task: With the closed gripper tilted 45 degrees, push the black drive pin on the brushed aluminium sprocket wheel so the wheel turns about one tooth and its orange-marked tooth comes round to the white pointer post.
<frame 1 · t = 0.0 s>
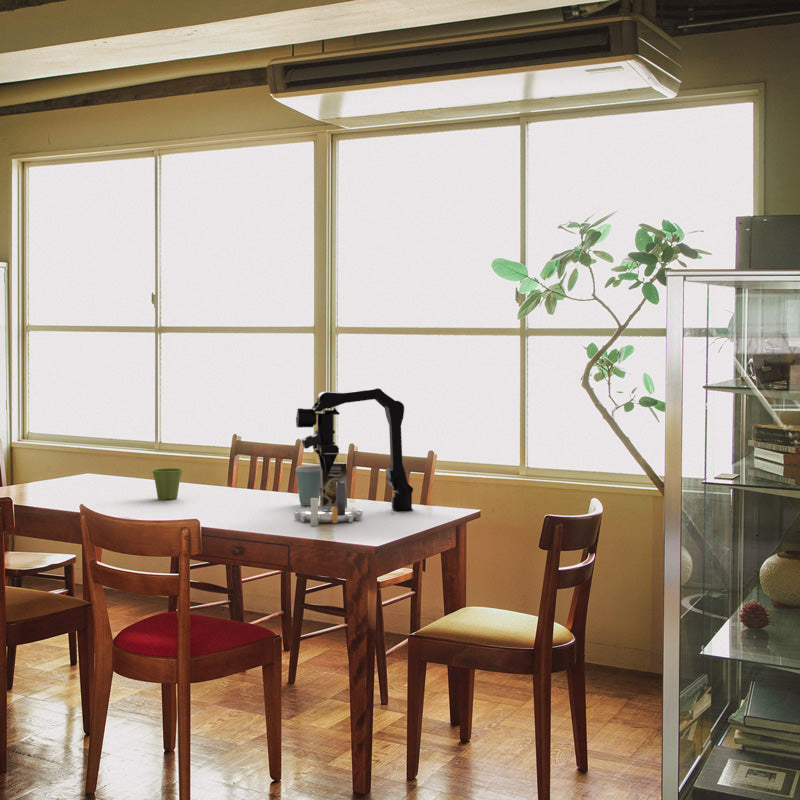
hand: (325, 471, 345), 15 cm above the table, tool pointing down, fingers open, 9 cm apart
disposable coffee cup: (309, 505, 363), on the table
coffee box: (333, 508, 353), on the table, touching gripper
pointer post: (314, 525, 320), on the table
sprocket: (328, 498, 333), point 7 cm above the table, hinge at 0.0°
plant pot: (167, 499, 375), on the table
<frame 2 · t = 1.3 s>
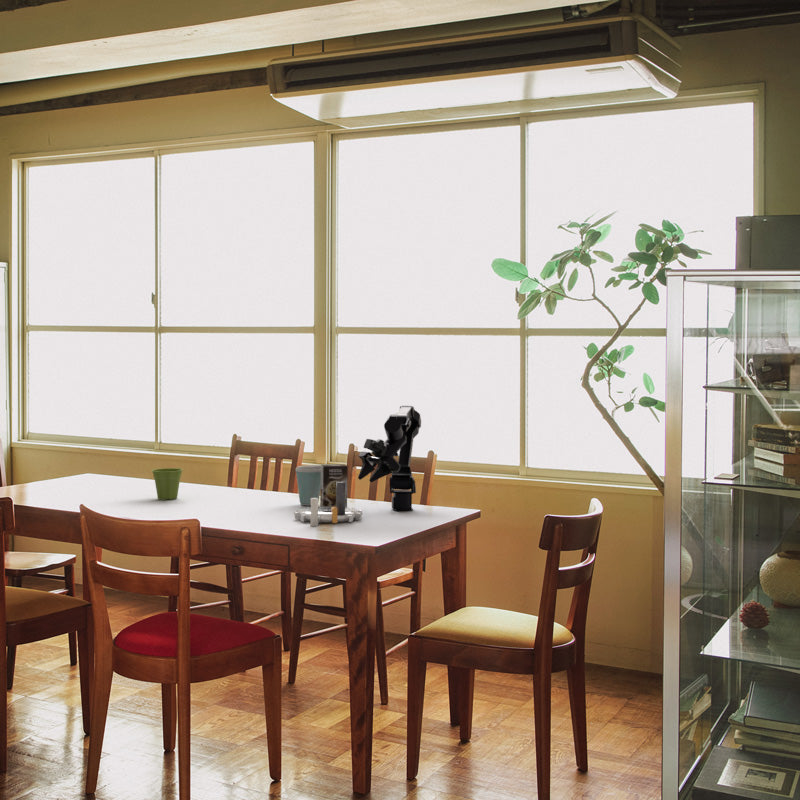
hand: (364, 480, 332), 13 cm above the table, tool tilted 45°, fingers open, 7 cm apart
coffee box: (333, 509, 353), on the table
everything else where it was.
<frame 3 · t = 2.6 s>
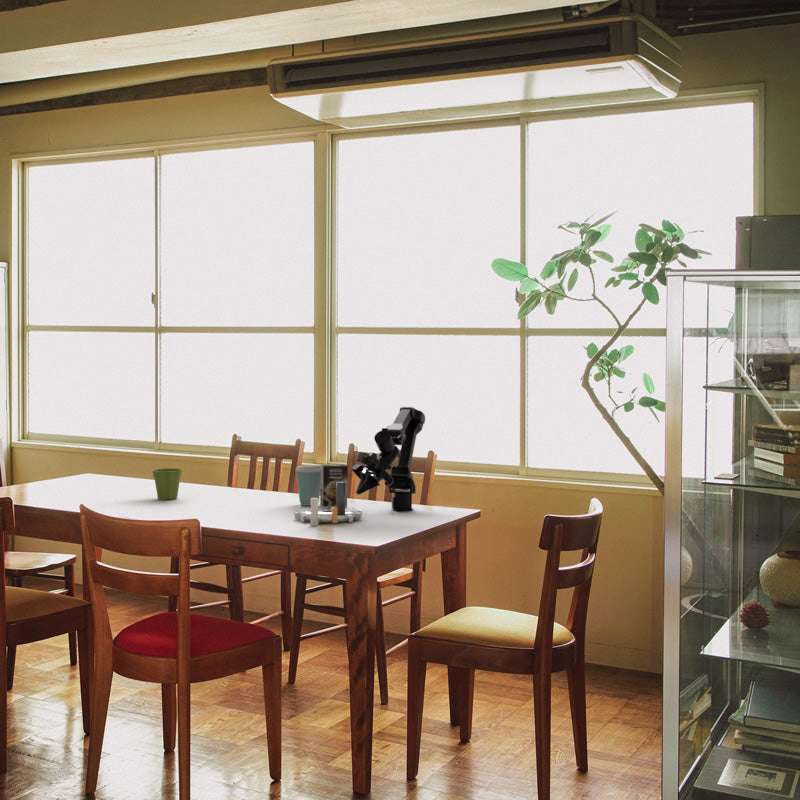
hand: (357, 493, 330), 9 cm above the table, tool tilted 45°, fingers closed
nothing on the table moved.
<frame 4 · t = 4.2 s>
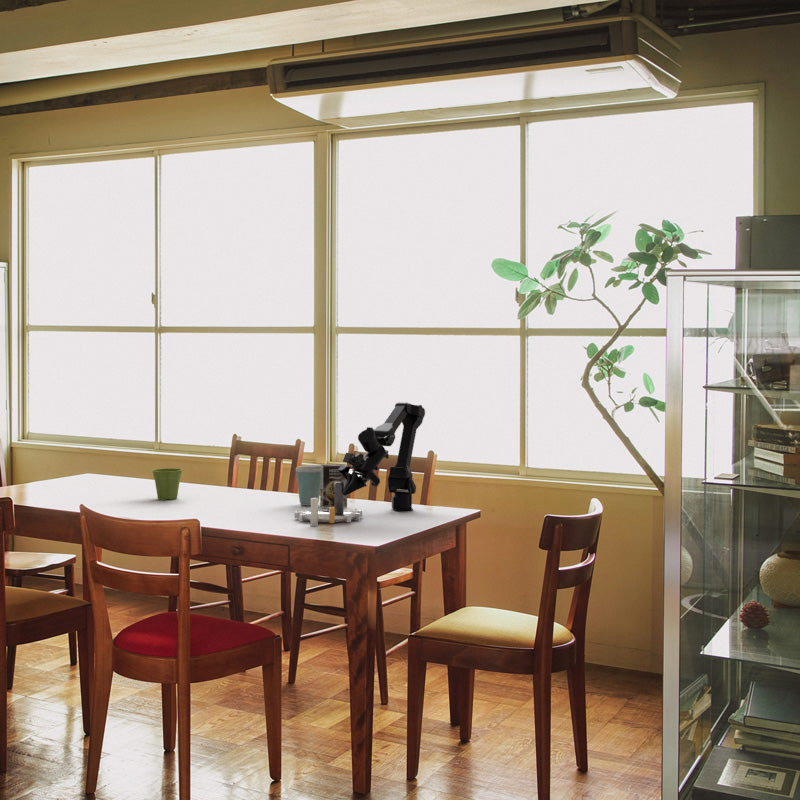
hand: (343, 494, 327), 9 cm above the table, tool tilted 45°, fingers closed, pressing on sprocket
sprocket: (328, 498, 333), point 7 cm above the table, hinge at -4.6°, touching gripper
everything else where it was.
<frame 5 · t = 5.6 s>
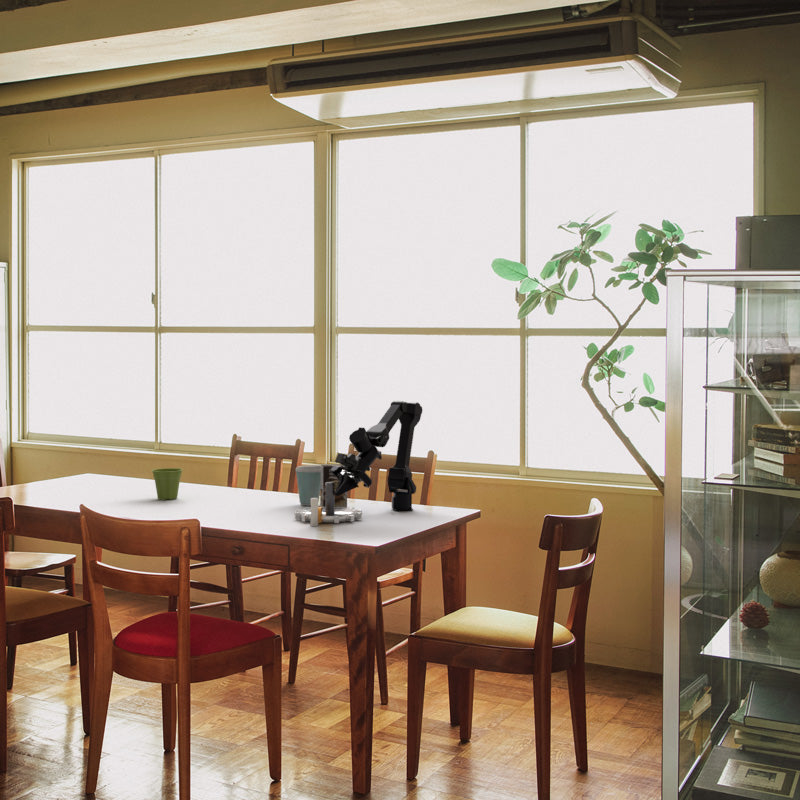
hand: (335, 495, 325), 9 cm above the table, tool tilted 45°, fingers closed
sprocket: (328, 498, 333), point 7 cm above the table, hinge at -27.0°, touching gripper
everything else where it was.
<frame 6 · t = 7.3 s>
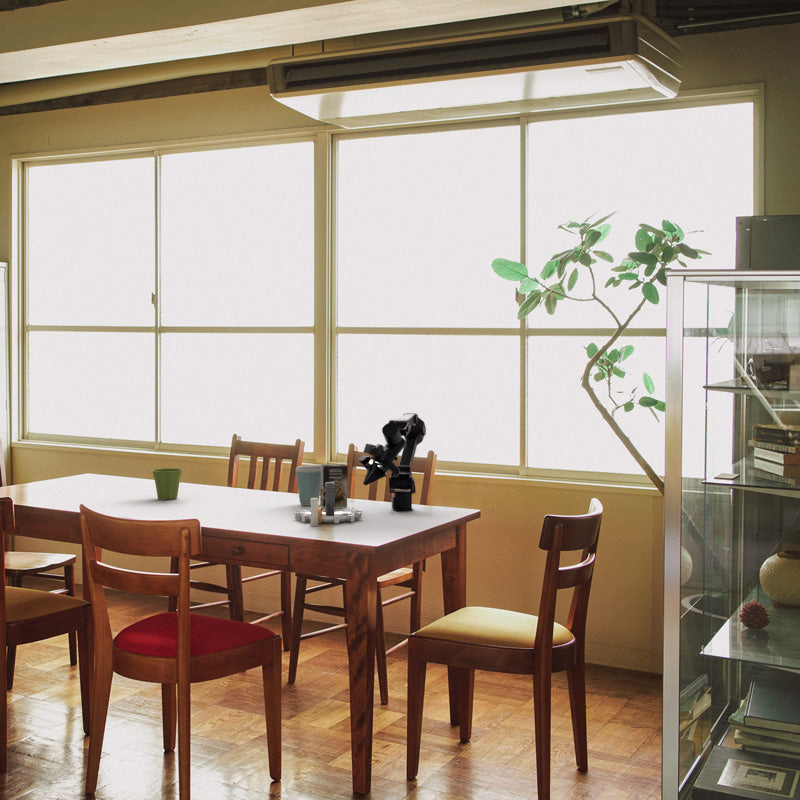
hand: (364, 484, 335), 11 cm above the table, tool tilted 45°, fingers closed
sprocket: (328, 498, 333), point 7 cm above the table, hinge at -27.1°
everything else where it was.
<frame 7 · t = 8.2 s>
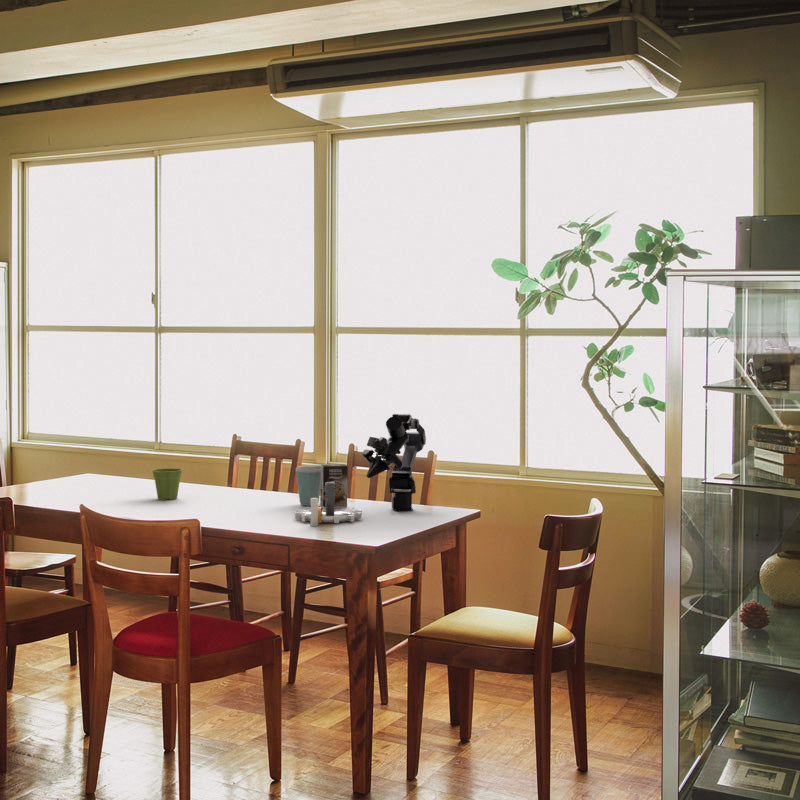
hand: (367, 477, 338), 14 cm above the table, tool tilted 45°, fingers closed
nothing on the table moved.
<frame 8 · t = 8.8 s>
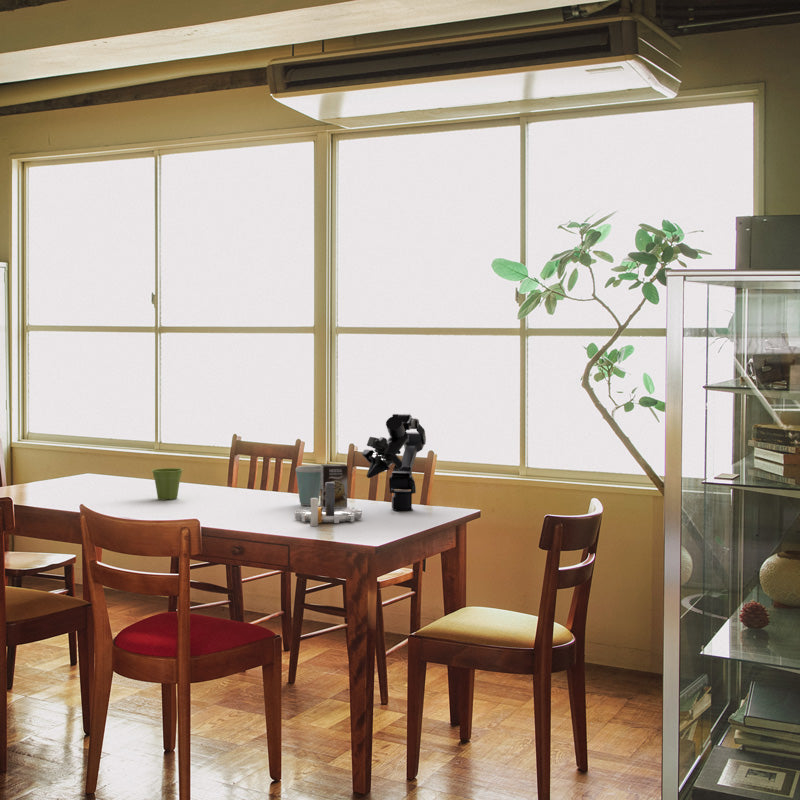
hand: (367, 477, 338), 14 cm above the table, tool tilted 45°, fingers closed
nothing on the table moved.
at the end: sprocket at -27° (first picture: +0°); coffee box moved 0.3 cm from its start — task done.
